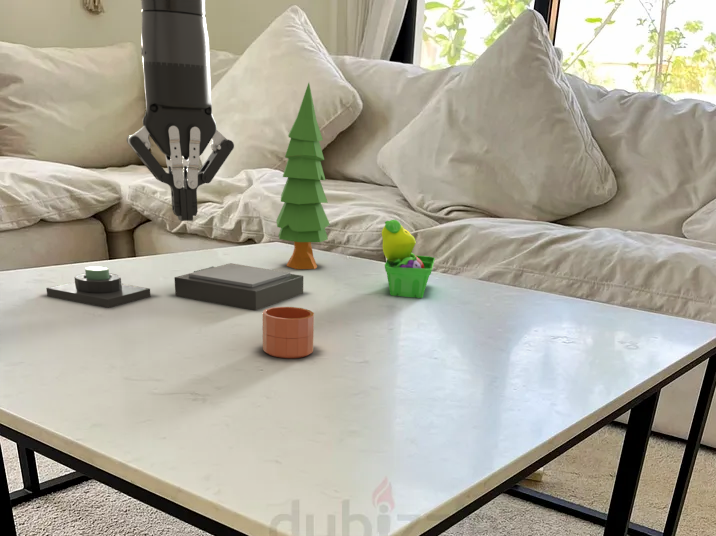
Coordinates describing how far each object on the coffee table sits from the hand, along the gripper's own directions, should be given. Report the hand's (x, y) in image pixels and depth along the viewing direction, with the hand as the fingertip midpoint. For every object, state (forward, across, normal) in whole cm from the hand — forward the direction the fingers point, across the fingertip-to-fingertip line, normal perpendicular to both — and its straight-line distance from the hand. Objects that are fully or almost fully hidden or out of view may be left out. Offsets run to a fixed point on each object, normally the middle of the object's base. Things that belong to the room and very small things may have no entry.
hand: (185, 219), depth 98 cm
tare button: (+10, -9, +17) cm, 22 cm away
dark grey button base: (+13, -9, +17) cm, 23 cm away
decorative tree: (+13, +28, +34) cm, 46 cm away
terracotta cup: (+13, +8, -16) cm, 22 cm away
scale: (+13, +11, +14) cm, 23 cm away
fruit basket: (+14, +39, +13) cm, 43 cm away
